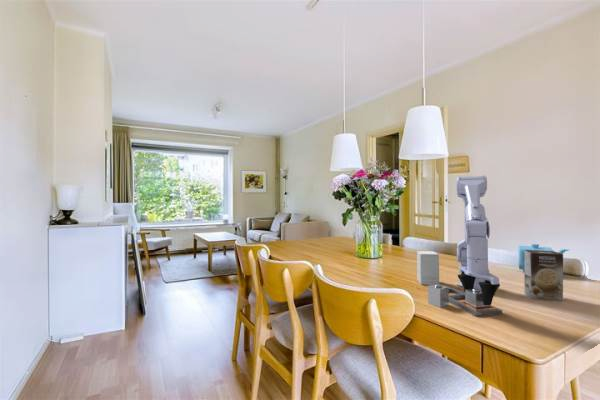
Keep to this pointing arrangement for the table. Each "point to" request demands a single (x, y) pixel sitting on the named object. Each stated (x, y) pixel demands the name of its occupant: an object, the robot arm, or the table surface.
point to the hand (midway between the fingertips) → (477, 300)
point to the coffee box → (543, 275)
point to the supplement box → (428, 267)
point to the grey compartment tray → (469, 309)
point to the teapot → (533, 247)
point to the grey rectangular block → (474, 298)
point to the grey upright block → (438, 295)
